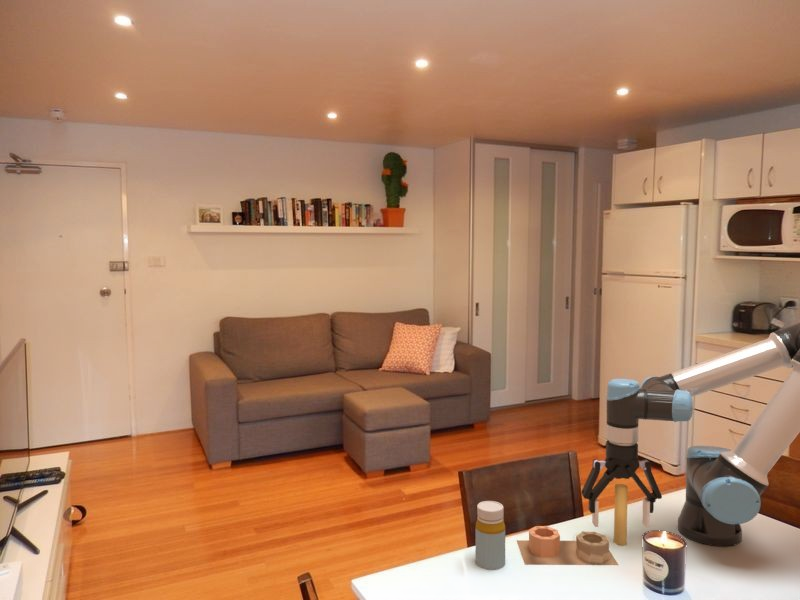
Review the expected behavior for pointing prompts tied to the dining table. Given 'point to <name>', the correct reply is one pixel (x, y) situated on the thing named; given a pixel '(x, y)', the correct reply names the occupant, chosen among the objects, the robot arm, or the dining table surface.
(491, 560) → the bottle
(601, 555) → the bead beech
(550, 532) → the bead rust
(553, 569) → the dining table surface
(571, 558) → the lacing board
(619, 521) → the dowel
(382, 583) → the dining table surface
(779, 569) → the dining table surface
